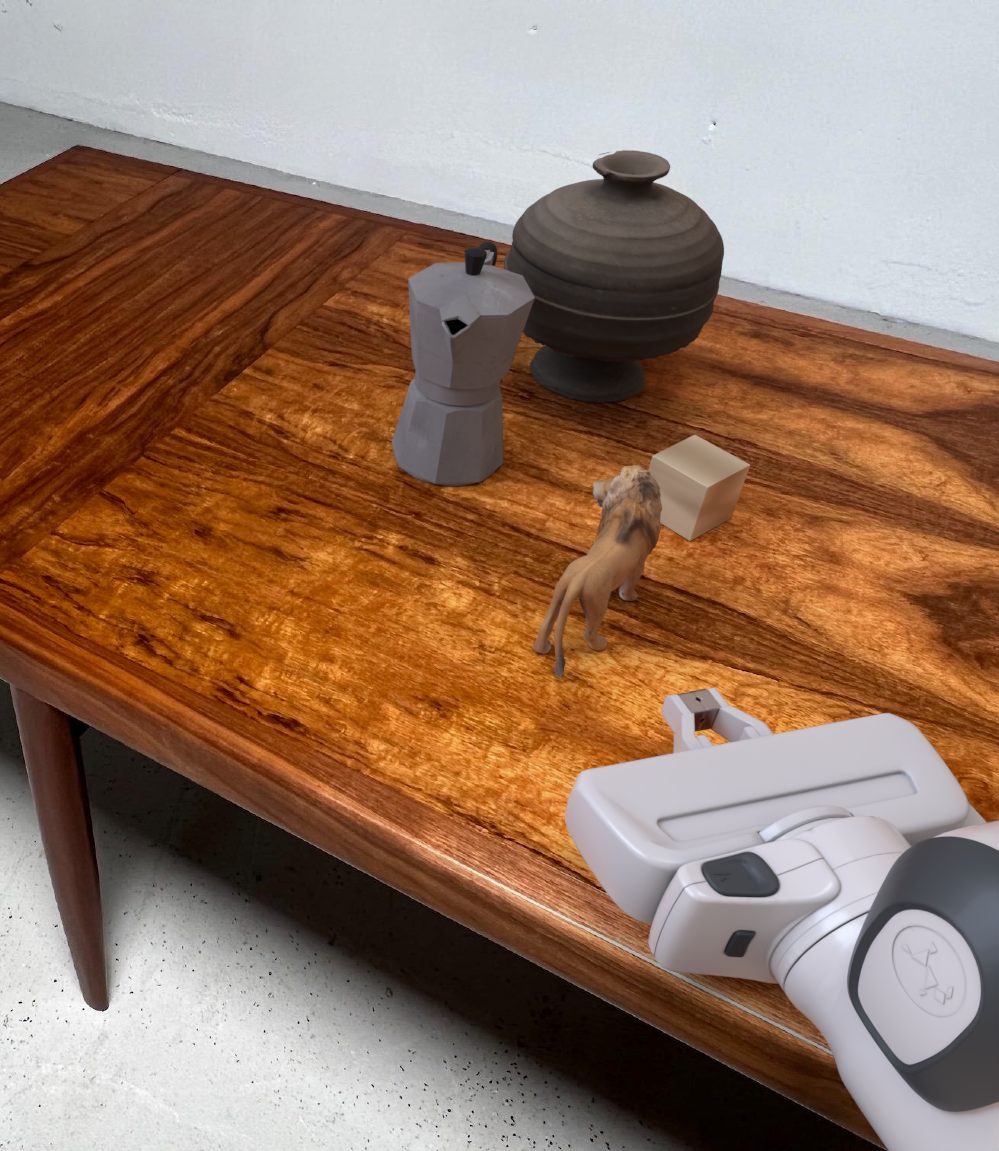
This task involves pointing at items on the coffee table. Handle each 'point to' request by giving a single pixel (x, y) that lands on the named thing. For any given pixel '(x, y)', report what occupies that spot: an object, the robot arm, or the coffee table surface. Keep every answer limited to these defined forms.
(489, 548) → the coffee table surface
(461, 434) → the coffeepot
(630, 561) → the lion figurine
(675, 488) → the beige block
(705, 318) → the pot
